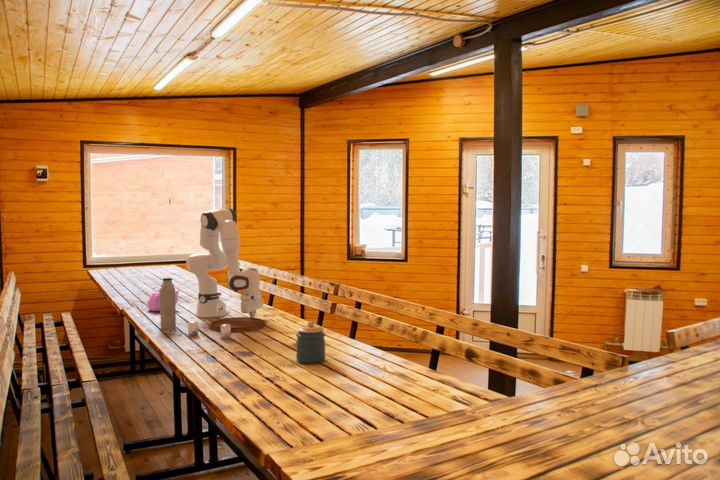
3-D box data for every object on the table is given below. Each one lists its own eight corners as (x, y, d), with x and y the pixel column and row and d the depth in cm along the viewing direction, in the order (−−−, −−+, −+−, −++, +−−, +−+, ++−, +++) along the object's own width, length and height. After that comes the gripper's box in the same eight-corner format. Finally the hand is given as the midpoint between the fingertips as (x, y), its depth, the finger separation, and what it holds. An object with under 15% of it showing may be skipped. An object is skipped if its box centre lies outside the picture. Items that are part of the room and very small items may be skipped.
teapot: (175, 313, 356) (175, 291, 355) (141, 313, 356) (141, 291, 355) (186, 307, 377) (186, 286, 377) (154, 307, 378) (154, 286, 377)
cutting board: (253, 334, 299) (253, 329, 298) (198, 331, 305) (198, 326, 305) (274, 322, 330) (274, 318, 330) (224, 320, 336) (224, 315, 336)
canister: (310, 355, 256) (310, 317, 255) (331, 360, 248) (331, 320, 247) (290, 361, 246) (289, 321, 245) (311, 366, 238) (311, 325, 237)
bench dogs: (192, 333, 298) (192, 320, 298) (232, 337, 290) (232, 324, 289) (186, 335, 294) (186, 322, 293) (227, 339, 285) (227, 326, 285)
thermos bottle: (164, 326, 317) (163, 277, 315) (178, 326, 316) (177, 277, 314) (158, 329, 309) (157, 279, 307) (172, 329, 308) (171, 279, 307)
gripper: (256, 292, 343) (256, 314, 343) (238, 297, 323) (239, 321, 324) (265, 292, 341) (265, 315, 341) (248, 298, 321) (248, 321, 322)
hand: (252, 318), depth 333 cm, fingers closed
